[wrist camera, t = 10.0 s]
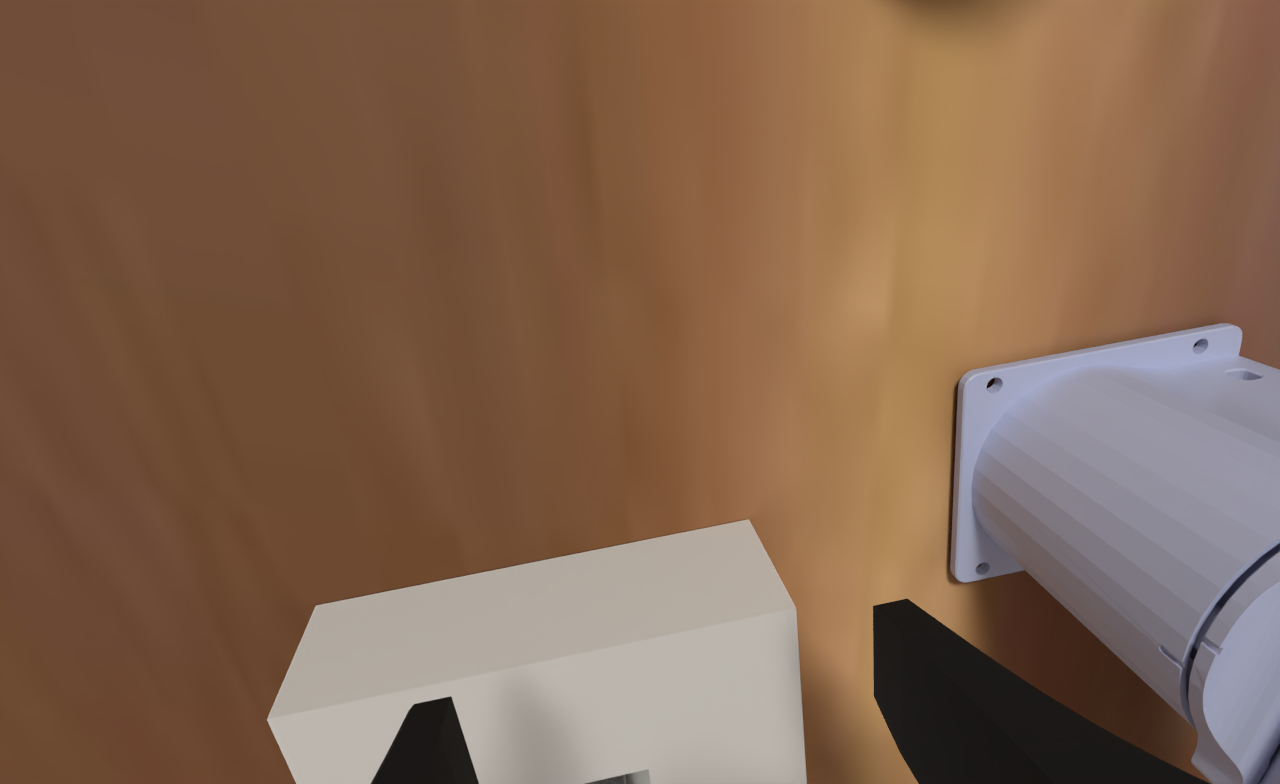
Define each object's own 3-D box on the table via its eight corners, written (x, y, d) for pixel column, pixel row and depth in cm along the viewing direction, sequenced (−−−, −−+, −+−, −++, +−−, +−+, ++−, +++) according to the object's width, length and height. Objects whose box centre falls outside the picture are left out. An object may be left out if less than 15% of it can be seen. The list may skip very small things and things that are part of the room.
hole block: (748, 519, 23) (796, 608, 19) (774, 810, 29) (815, 928, 25) (315, 605, 22) (267, 719, 18) (427, 891, 28) (409, 1030, 23)
